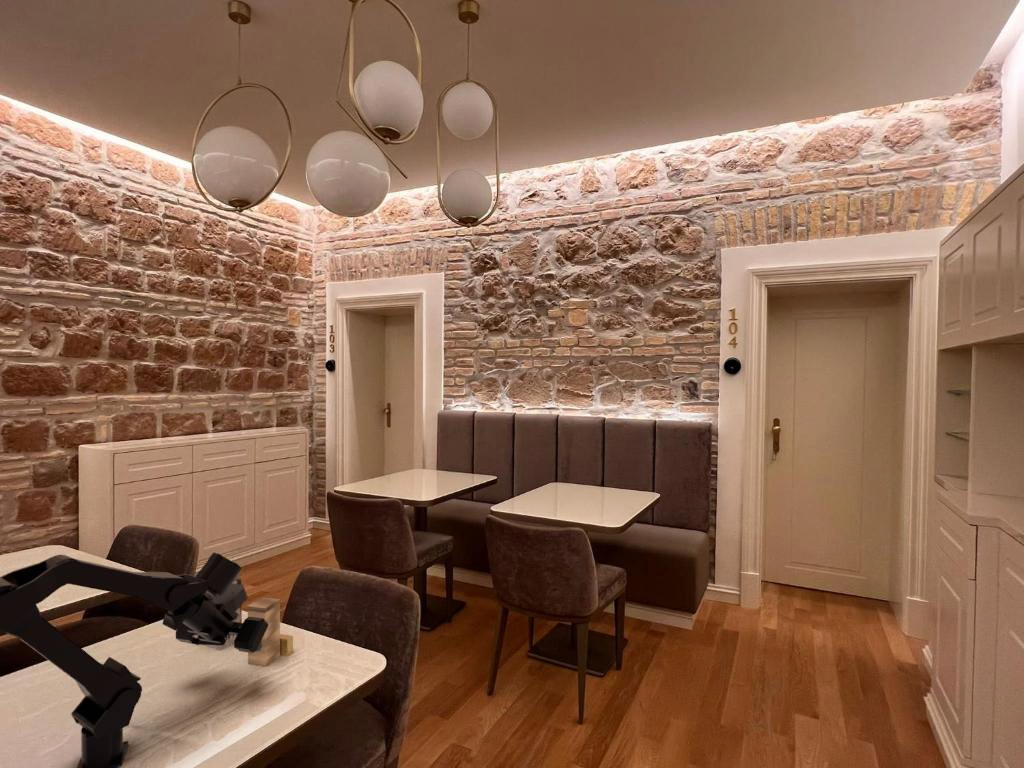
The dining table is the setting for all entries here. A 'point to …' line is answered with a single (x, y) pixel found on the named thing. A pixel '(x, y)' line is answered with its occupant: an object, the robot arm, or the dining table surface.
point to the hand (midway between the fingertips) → (242, 645)
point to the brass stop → (286, 644)
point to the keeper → (271, 638)
